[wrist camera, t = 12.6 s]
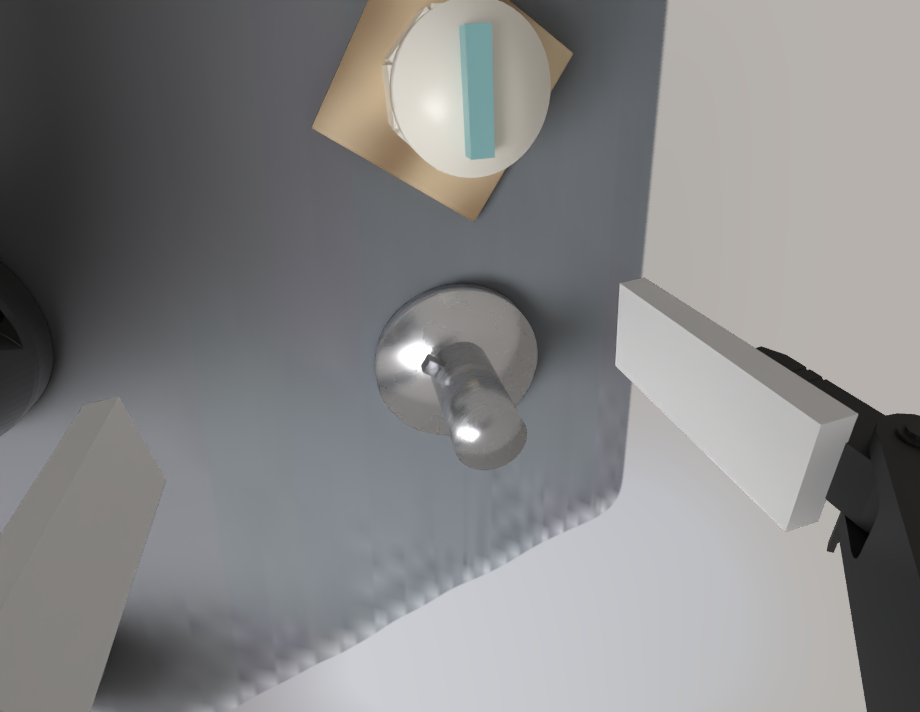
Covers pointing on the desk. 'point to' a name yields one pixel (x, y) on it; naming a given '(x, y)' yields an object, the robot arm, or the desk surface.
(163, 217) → the desk surface
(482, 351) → the bayonet post
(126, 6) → the desk surface
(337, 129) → the coaster
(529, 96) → the cap
